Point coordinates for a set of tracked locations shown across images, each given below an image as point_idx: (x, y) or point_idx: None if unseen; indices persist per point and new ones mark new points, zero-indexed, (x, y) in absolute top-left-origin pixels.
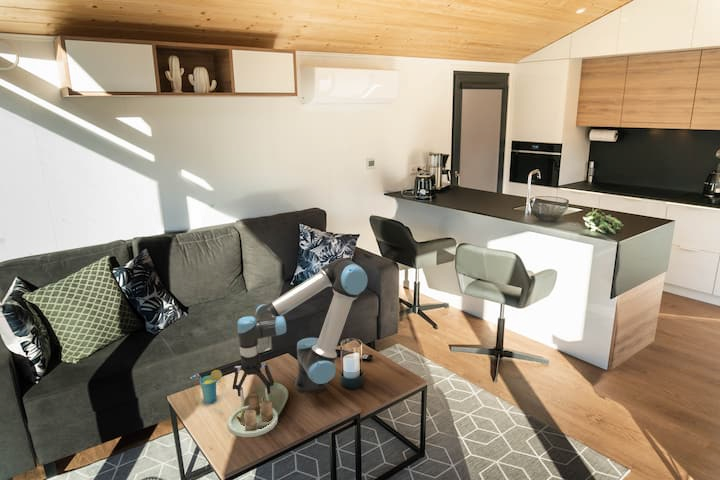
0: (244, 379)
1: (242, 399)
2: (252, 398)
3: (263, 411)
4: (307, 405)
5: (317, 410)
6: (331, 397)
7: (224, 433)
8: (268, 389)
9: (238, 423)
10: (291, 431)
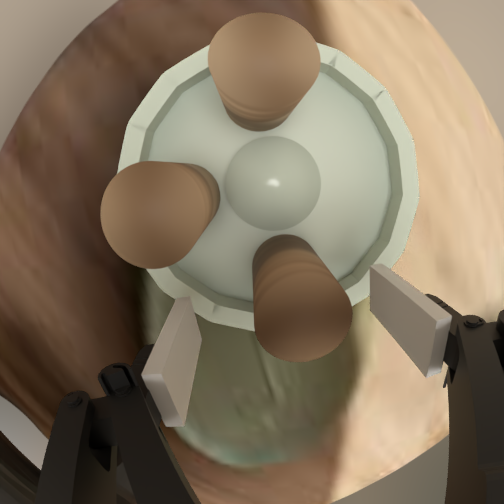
0: (479, 434)
1: (390, 279)
2: (306, 297)
3: (173, 162)
4: (59, 339)
5: (17, 302)
6: (19, 373)
7: (398, 100)
8: (141, 372)
9: (355, 164)
10: (57, 138)
